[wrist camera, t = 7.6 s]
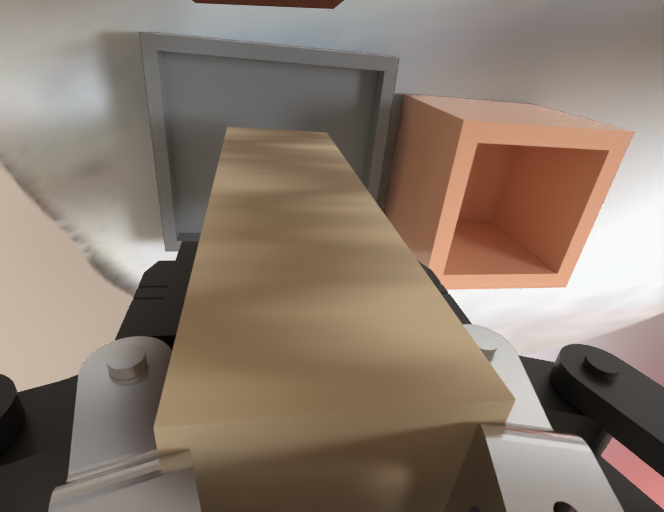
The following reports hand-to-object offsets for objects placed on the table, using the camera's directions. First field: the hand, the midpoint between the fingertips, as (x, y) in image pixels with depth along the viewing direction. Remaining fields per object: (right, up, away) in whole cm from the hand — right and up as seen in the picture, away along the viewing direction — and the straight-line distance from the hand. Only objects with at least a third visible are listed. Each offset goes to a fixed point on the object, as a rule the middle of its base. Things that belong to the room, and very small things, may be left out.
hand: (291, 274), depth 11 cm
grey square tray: (-2, +6, +11) cm, 13 cm away
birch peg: (-1, +4, +7) cm, 8 cm away
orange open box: (+8, +6, +13) cm, 16 cm away
